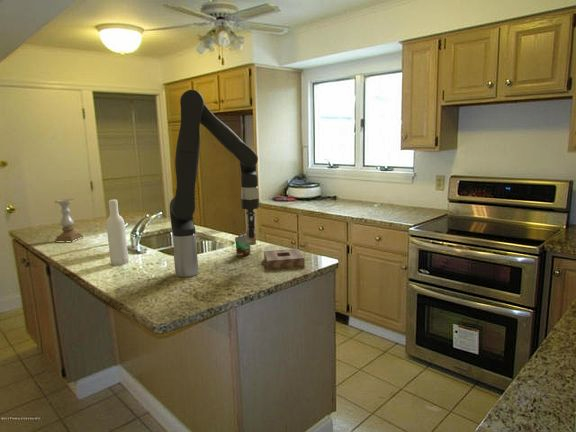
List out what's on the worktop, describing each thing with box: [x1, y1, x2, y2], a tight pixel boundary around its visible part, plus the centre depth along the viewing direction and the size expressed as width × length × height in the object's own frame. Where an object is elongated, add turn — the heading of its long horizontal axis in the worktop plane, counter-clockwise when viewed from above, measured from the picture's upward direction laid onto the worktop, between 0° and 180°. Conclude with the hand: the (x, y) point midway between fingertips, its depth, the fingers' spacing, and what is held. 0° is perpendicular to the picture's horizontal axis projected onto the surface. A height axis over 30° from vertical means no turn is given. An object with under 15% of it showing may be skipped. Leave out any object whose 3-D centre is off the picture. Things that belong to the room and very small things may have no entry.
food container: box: [234, 231, 251, 258], centre depth 202 cm, size 12×6×10 cm, turn 168°
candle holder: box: [53, 198, 84, 242], centre depth 242 cm, size 11×11×24 cm
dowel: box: [245, 216, 257, 246], centre depth 179 cm, size 4×4×12 cm
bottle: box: [105, 199, 129, 266], centre depth 191 cm, size 8×8×30 cm
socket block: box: [263, 248, 305, 271], centre depth 186 cm, size 16×16×4 cm
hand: (251, 236), depth 180 cm, fingers closed on dowel, 4 cm apart
